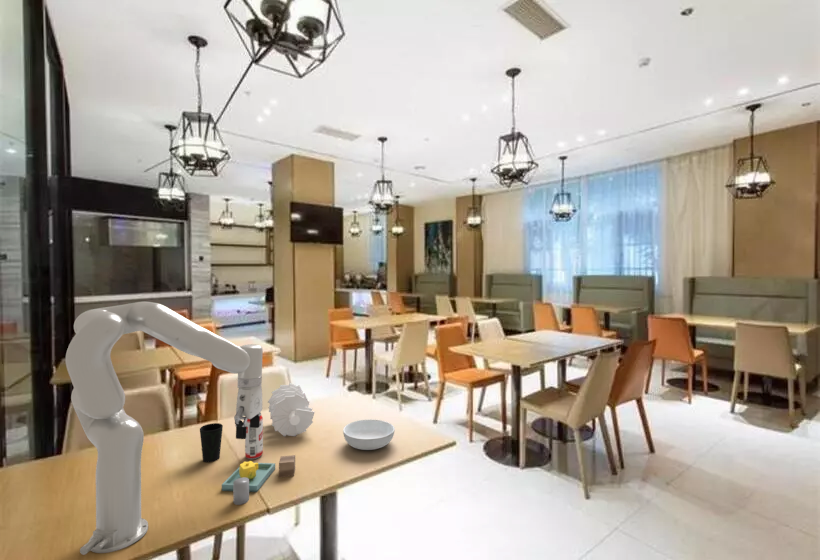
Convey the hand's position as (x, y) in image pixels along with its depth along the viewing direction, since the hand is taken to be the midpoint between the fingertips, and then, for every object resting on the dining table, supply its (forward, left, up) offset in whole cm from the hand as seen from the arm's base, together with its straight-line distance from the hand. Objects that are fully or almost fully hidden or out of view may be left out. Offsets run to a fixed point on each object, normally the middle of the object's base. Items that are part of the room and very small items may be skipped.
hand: (248, 432), depth 130 cm
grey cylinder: (-11, -3, -16) cm, 20 cm away
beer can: (+17, +6, -16) cm, 24 cm away
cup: (+14, +21, -16) cm, 30 cm away
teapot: (+1, 0, -16) cm, 16 cm away
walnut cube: (+6, -11, -16) cm, 21 cm away
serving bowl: (+30, -36, -16) cm, 50 cm away
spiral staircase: (+44, +2, -16) cm, 47 cm away
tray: (+1, 0, -16) cm, 16 cm away
